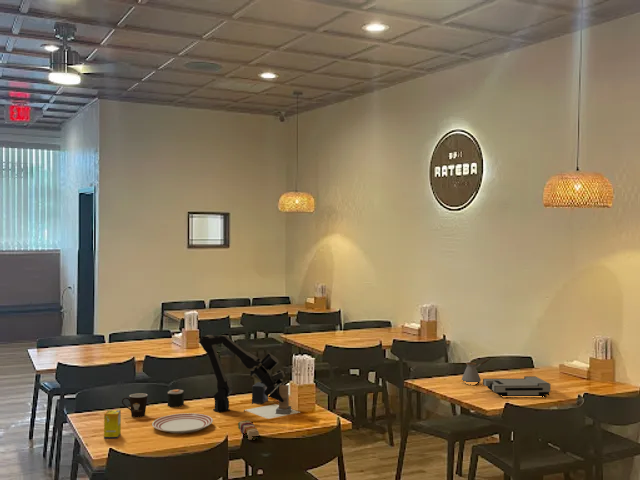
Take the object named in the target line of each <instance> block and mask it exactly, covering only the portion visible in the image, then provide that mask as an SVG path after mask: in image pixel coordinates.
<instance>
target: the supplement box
mask: <svg viewBox="0 0 640 480" xmlns="http://www.w3.org/2000/svg"><path fill="white" fill-rule="evenodd" d="M121 411H122V410H120V409H119V410H118V409H117V410H116V409H115V410H113V409H111V410H107V411H105V412H104V414H103V415H104V416H103V417H104V419H103V423H104V424H103V427H104V428H103V434H104V435H103V439H104V440H107V439H108V440H113V439H114V440H115V439H118V438H119V437H120V436H121V431H122V430H121V426H122V425H121V421H122V418H121V417H122V413H121Z"/></svg>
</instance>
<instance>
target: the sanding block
mask: <svg viewBox="0 0 640 480" xmlns="http://www.w3.org/2000/svg"><path fill="white" fill-rule="evenodd" d="M289 385H290V384H289ZM289 385H288V384H283V385H280V386H279V394H280V395H281V397H282V398H283V400H284V402H280V401H278V405H279V407H278V408H277V409H276V414H288V413H289V412H290V411H291V409H292V406H291V405H289V403H290V402H289V396H290V395H289V394H290V392H289V391H290V390H289V388H290V387H289Z"/></svg>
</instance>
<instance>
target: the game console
mask: <svg viewBox="0 0 640 480" xmlns="http://www.w3.org/2000/svg"><path fill="white" fill-rule="evenodd" d="M551 384H552V383H550V382H547V381H546V380H543V379H541V378H539V377H538V376H534V375H533V376H532V375H531V376H527V375H526V376H524V378H482V385H484V386H485V387H487V389H489V390H490V391H492V390H493V391H492V392H494V393H495V394H496V395H497V396H500V395H502V396H542V397H543V396H544V397H546V398H547V396H549V395H550V393H551V387H552V385H551Z"/></svg>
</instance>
